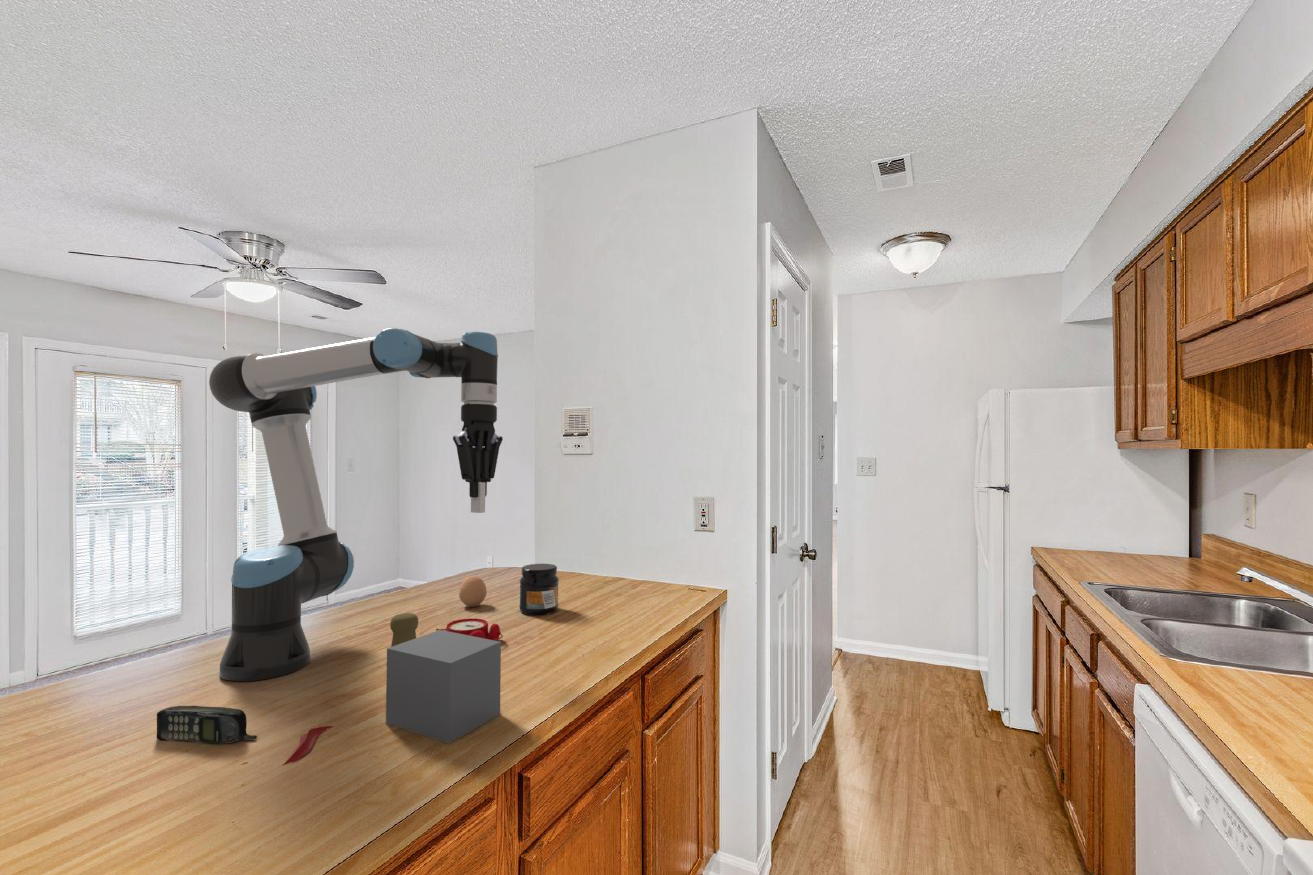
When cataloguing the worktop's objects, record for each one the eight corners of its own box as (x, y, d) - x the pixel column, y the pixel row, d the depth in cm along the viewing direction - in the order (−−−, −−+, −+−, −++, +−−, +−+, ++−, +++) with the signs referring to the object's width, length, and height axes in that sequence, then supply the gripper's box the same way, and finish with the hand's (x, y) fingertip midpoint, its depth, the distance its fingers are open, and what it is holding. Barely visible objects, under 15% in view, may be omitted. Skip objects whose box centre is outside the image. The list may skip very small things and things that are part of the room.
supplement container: (554, 616, 155) (554, 570, 155) (514, 616, 155) (515, 570, 155) (561, 605, 165) (562, 563, 166) (524, 605, 166) (524, 562, 166)
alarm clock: (463, 616, 142) (510, 610, 136) (467, 642, 142) (515, 637, 135) (429, 628, 133) (478, 622, 127) (433, 656, 132) (483, 651, 126)
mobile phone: (152, 711, 88) (245, 713, 87) (170, 702, 91) (260, 704, 90) (152, 744, 88) (245, 747, 87) (170, 734, 91) (260, 737, 90)
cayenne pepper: (323, 726, 94) (323, 714, 94) (348, 729, 93) (348, 717, 93) (259, 767, 82) (259, 753, 82) (287, 770, 81) (287, 756, 81)
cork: (426, 667, 119) (427, 612, 119) (402, 677, 113) (403, 620, 113) (405, 662, 121) (405, 608, 121) (380, 672, 116) (381, 616, 116)
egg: (478, 610, 160) (478, 579, 160) (453, 608, 161) (454, 577, 162) (491, 603, 167) (491, 573, 167) (467, 602, 169) (467, 572, 169)
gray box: (449, 743, 88) (450, 663, 88) (385, 723, 94) (386, 648, 95) (500, 714, 98) (500, 641, 98) (439, 697, 104) (440, 629, 104)
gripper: (470, 401, 121) (468, 516, 120) (512, 405, 132) (511, 510, 132) (443, 402, 124) (442, 514, 124) (487, 406, 136) (486, 508, 135)
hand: (477, 512), depth 128 cm, fingers closed
